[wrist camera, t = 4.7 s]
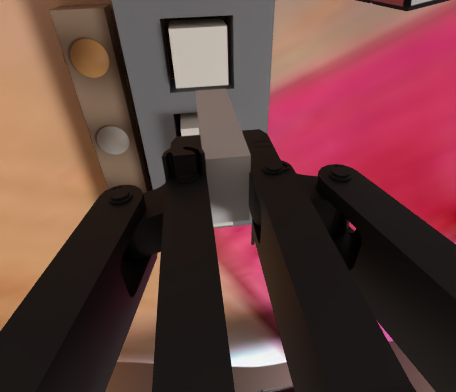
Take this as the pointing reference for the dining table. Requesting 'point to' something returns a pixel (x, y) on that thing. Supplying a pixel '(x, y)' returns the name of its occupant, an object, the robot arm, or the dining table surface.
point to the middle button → (189, 124)
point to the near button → (199, 52)
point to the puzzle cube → (404, 3)
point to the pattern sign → (102, 91)
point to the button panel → (186, 97)
